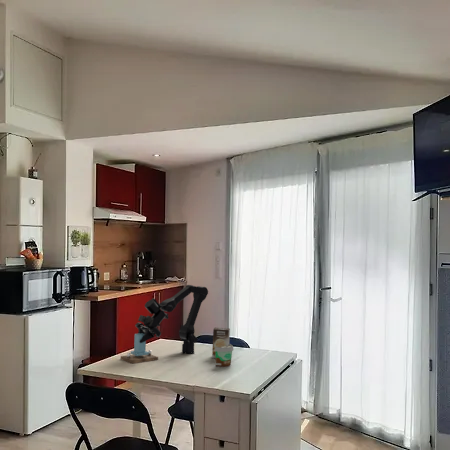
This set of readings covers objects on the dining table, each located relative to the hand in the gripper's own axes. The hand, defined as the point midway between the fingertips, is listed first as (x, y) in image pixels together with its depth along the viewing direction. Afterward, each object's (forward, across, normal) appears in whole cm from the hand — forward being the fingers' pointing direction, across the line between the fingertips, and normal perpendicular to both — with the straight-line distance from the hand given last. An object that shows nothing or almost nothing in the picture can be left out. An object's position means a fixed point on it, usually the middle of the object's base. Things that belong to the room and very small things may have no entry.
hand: (137, 341), depth 261 cm
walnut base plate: (+6, 0, +8) cm, 10 cm away
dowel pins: (+5, 0, +7) cm, 8 cm away
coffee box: (-22, +19, +37) cm, 47 cm away
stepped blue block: (+4, 0, +6) cm, 7 cm away
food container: (-16, +36, +30) cm, 49 cm away
